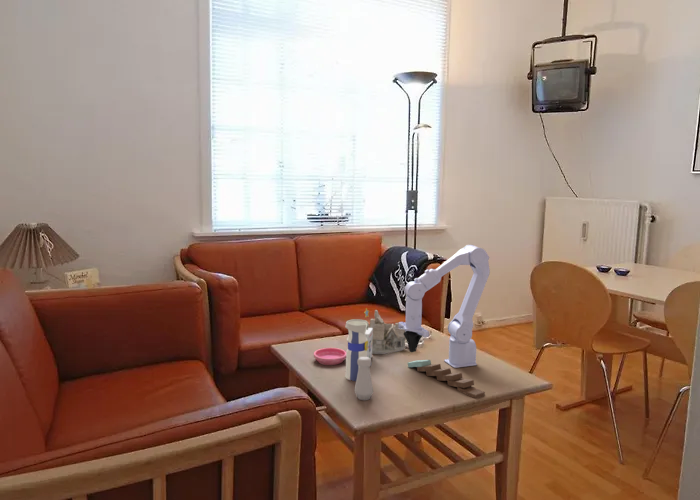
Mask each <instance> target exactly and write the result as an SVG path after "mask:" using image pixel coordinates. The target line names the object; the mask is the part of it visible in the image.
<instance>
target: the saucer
mask: <svg viewBox="0 0 700 500" xmlns="http://www.w3.org/2000/svg"><path fill="white" fill-rule="evenodd" d="M346 353H347V350H344V349H342V348H338V347H324V348H323V347H322V348H319V349H316V350H315V351H314V352H313V357H314V358H315V360H316V361H317V362H318V363H319V364H321V365H325V366H335V365H339V364H341V363H343V361H344V360H345V361H346Z"/></svg>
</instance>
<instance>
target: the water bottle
mask: <svg viewBox="0 0 700 500" xmlns="http://www.w3.org/2000/svg"><path fill="white" fill-rule="evenodd" d="M369 313H370V310H368V308H367V307H366V308H365V311H364V312H363V314H365V316H364V317H365V319H366V318H369V317H370V316H369ZM365 319H358V318H357V319H356V318H355V319H349V320H346V322H345V326H344V327H345V329H347V331H348V336H347V337H346V341H347V349H346V352H347V353H346V358H345V379H347V380H349V381H351V380H352V382H356V380H357V375H358V369H359V366H358V363H357V360H358V358H360V357H367V349H368V341H367V338H366V335H365V332H366V329H367V330H368V328H369V325H370V322H368V321H367V320H365Z"/></svg>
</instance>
